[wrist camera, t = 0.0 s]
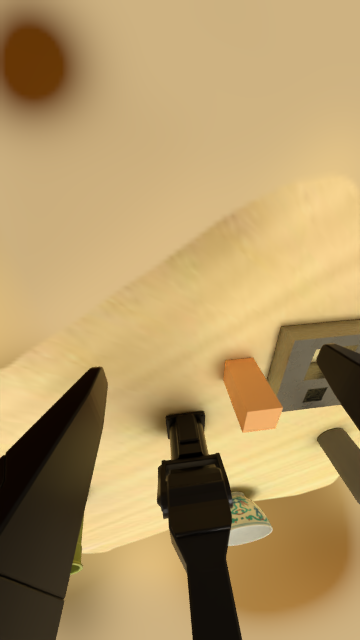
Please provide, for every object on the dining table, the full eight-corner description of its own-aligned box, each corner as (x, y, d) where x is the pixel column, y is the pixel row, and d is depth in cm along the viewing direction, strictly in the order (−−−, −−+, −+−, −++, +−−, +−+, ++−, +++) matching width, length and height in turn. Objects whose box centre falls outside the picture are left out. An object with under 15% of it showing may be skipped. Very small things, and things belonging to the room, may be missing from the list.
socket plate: (330, 388, 35) (344, 404, 32) (262, 396, 34) (271, 413, 31) (367, 318, 27) (389, 331, 25) (281, 326, 27) (294, 340, 24)
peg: (249, 377, 31) (275, 428, 24) (223, 380, 31) (242, 432, 24) (253, 357, 29) (283, 407, 22) (225, 360, 29) (247, 411, 22)
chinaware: (216, 484, 51) (225, 527, 44) (268, 484, 54) (284, 524, 48) (197, 508, 58) (203, 548, 52) (244, 506, 61) (255, 543, 55)
